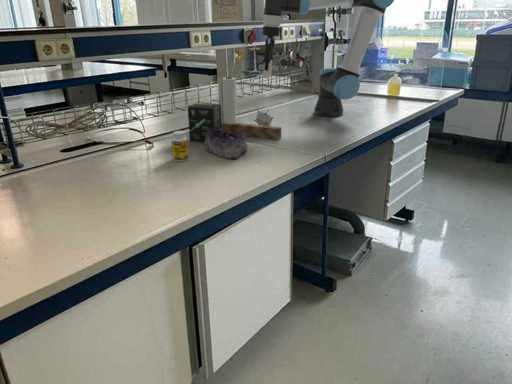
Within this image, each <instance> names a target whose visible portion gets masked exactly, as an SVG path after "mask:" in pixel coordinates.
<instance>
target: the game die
mask: <svg viewBox="0 0 512 384" xmlns="http://www.w3.org/2000/svg"><path fill="white" fill-rule="evenodd" d="M274 119H275V117H272V115H271V114H270V112H269V109H267V110H266V111H259V110H257V115H256V118H255V119H254V120H253V121H254V122H256V123H257V125H264V126H271V123H272V121H273V120H274Z"/></svg>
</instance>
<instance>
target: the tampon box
mask: <svg viewBox="0 0 512 384" xmlns="http://www.w3.org/2000/svg"><path fill="white" fill-rule="evenodd" d="M187 116H188V119H187V120H188V134H189V141H190V142H195V143H204V144H205V140H206V130H209V128H213V129H214V128H215V126H217V127H218V128H219V129H222V122H221V104H219V103H207V102H196V103H194V104H191V105H190V106H188V107H187Z"/></svg>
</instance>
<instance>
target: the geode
mask: <svg viewBox="0 0 512 384" xmlns="http://www.w3.org/2000/svg"><path fill="white" fill-rule="evenodd" d="M247 142H248V141H247V137H245V136H244V135H237V134H235V133H234V134H233V133H230V132H223V131H222V129H219V128H218V127H217V126H215V128H214V129H213V128H209V130H206V140H205V143H204V145H205V151H207V152H209V153H212V154H214V155H217V156H219V157H221V158H225V159H233V160H237V159H239V157H241V156H242V155H243V154H245V153H247V152H248V143H247Z"/></svg>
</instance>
